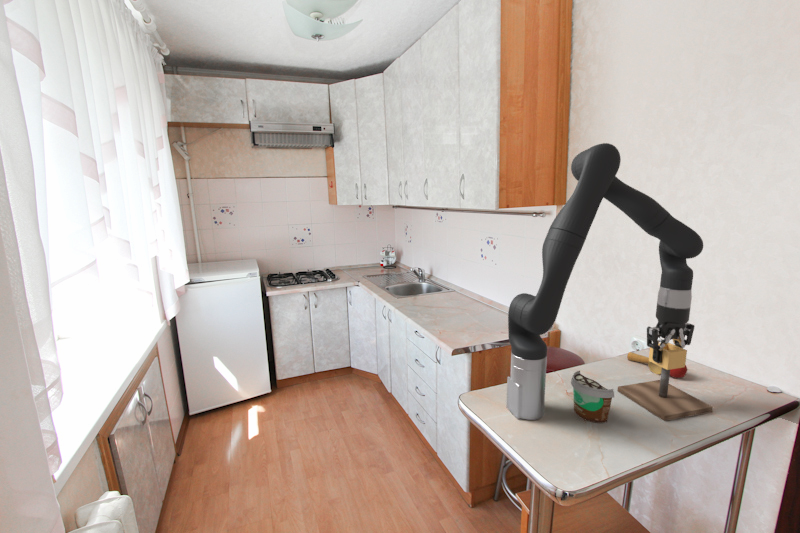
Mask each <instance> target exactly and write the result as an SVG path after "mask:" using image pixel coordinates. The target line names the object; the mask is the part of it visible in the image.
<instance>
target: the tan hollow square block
mask: <svg viewBox="0 0 800 533" xmlns="http://www.w3.org/2000/svg"><path fill="white" fill-rule="evenodd" d="M660 344H661V342H659V343H658V345H659V346H660ZM662 351H663V355H662V362H661V363H657V362H655V361H653V358H652V357H653V348H651V347H649V353H648V358H649V361H650V362H652V363H654V364H656V365H658V366H660V367H662V368H664V369H666V370H670V369H677V368H683V367H685V365H686V362H687V354H688V353H687V352H688V349H685V348H680V347H678V346H675V345H674V343H670V342H669V343H668V344H666V345H665V347H664V349H663V350H662Z"/></svg>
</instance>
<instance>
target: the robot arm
mask: <svg viewBox="0 0 800 533" xmlns="http://www.w3.org/2000/svg"><path fill="white" fill-rule="evenodd" d="M620 166H621V153H620V151H619V149H618V148H617V147H616V146H615V145H614V144H613V143H612V144H611V143H607V142H606V143H605V142H603V143H599V144H596V145H593V146H591V147H589V148H587V149H585V150H582V151H581V152H579V153H578V154H577V155H575V156H574V158H573V159H572V161H571V165H570V170H571V173H572V176H573V177H574V179H575V180H577V184H576V187H575V189H574V190H573V192H572V195H571V196H570V198H569V199H568V200H567V202H566V203H565V204H564V205H563V206H562V208H561V209H560V211H559V212H558V213H557V214H556V216H555V217H554V219H553V221H552V222H551V224H550V227H549V228H548V231H547V233H546V236H545V239H544V241H543V244H542V250H541V254H542V255H541V257H542V279H541V283H540V286H539V289H538V290H537V293H536V295H533V294H530V293H527V292H526V293H525V292H524V293H519V294H517V295H515V296H514V297H513V299H512V300H511V302H510V303H509V304H510V305H509V307H508V313H507V323H508V324H507V325H508V326H507V327H508V328H507V329H508V330H507V331H508V341H509V344H510V348H511V349H510V351H511V352H510V353H511V354H510V375H509V376H507V377H506V380H507V383H506V409H508V411H509V412H510V413H511V414H512V415H513V416H514V417H515V418H516V419H517V420H519V419H523V420H528V421H529V420H530V421H531V420H539V419H541V418H543V417H544V414H545V403H546V402H545V399H546V398H545V397H546V378H547V364H548V363H547V362H548V359H547V358H548V346H547V344H546V342H545V341H544V339H543V338H542V336H541V335H544V334H546V333H548V332H549V331H550V329H552V327H553V325H554V324H555V321H556V319H557V318H558V314H559V311H560V307H561V304H562V300H563V297H564V294H565V291H566V288H567V285H568V282H569V280H570V277H571V274H572V272H573V270H574V268H575V265H576V262H577V260H578V259H579V255H580V254H581V252H582V249H583V247H584V245H585V242H586V240H587V236H588V234H589V232H590V229H591V227H592V224H593V222H594V220H595V217H596V215H597V212H598V210H599V208H600V205H601V203H602V201H603V199H604V200H607V202H609V203H611V204H612V205H613V206H615V208H618V209H619V210H620V211H621V212H623V214H625V215H626V216H627V217H628V218H630V219H631V220H632V221H633V223H635V224H636V225H637V226H638V227H639V228H640V229H641V230H643V231H644V232H645V233H646V234H648V235H649V236H651V237H653V238H655V239H658V240H659V244H658V254H659V262H660V268H661V275H660V283H659V288H658V291H657V292H658V293H657V301H656V307H655V308H656V310H655V318H656V319H657V323H656V326H653V327H651V326H647V327H646V345H647V347H649V348H650V347H651V348H653V357H652V358H653V361H655V362H657V363H661V362H662V355H663V351H662V350H663V349H664V347H665V345H666V344H668V343H670V341H671V340H672V342H673V345H675V346H678V347H680V348H683V349H685V347H686V346H690V345H691V343H692V339H693V334H694V330H695V324H692V323H689V321H690V315H691V304H692V297H693V296H692V290H693V288H692V287H693V279H694V270H693V269H692V268H691V267H690V266H689V264H688V263H687V260H689V259H694V258H696V257H698V256H699V255H700V254H701V253H702V252H703V249H704V241H703V239H702V237H701V236H700V235H699V234H698V233H697V231H696V230H694V229H692V228H691V227H689V226H688V225H687V224H685V223H684V222H682V221H680V220H679V219H677V218H676V217H674V216H673V215H671V213H670V212H669V211H668V210H667V209H666V208H664V207H663V206H662V205H661V203H659V202H658V201H656V200H655V199H654V198H653V197H651V196H650V195H648V194H646V193H644V192H643V191H640V190H638V189H636V188H634V187H632V186H630V185H628V184H627V183H625V182H623V181H622V180H621V179H619V178H618V177H617V176H616V175H617V174H618V172H619V169H620ZM685 337H686V338H685ZM658 343H661V344H660V346H659V345H658Z"/></svg>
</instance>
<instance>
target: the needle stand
mask: <svg viewBox="0 0 800 533" xmlns="http://www.w3.org/2000/svg"><path fill="white" fill-rule="evenodd" d="M670 377H671V376H670V370H666V369H664V368H662V370H661V374H660V379H655V380H651V381H644V382H638V383H632V384H625V385H620V386H617V392H618V393H620V395H623V396H624V397H625V398H627V399H629V400H630V401H631V402H634V403H636V404H637V405H638V406H640V407H641V408H643V409H645V410H646V411H647V412H649V413H651V414H652V415H654V416H656V417H657V418H659V419H660V420H661V421H664V422H666V421H671V420H676V419H678V420H679V419H681V418H686V417H687V418H688V417H693V416H697V415H702V414H708V413H712V412H713V408H714V407H713V406H712V405H710V404H709V403H706V402H704V401H703V400H702V399H701V400H700V399H699V398H697V397H695V396H693V395H691V394H689V393H688V392H686V391H684V390H681V389H680V388H678V387H676V386H674V385H672V384H671V383H670Z"/></svg>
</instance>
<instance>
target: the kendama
mask: <svg viewBox="0 0 800 533" xmlns="http://www.w3.org/2000/svg"><path fill="white" fill-rule="evenodd" d="M626 357H627V360H628V361H631V362H636V363H642V364H647V365H648V368H649V371H650V372H652V373H653V374H656V375H658V376H659V375H661V370H662V367H660V366H658V365H656V364H654V363H652V362H650V361H649V356H644V355H641V354H639V353H634V352H632V351H630V352H629V351H628V353H627V356H626ZM687 372H688V367H687V365H686V364H685V367H683V368H677V369H670V376H669V377H672V378H675V379H679V378H684V377H685V376H686V375H687Z"/></svg>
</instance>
